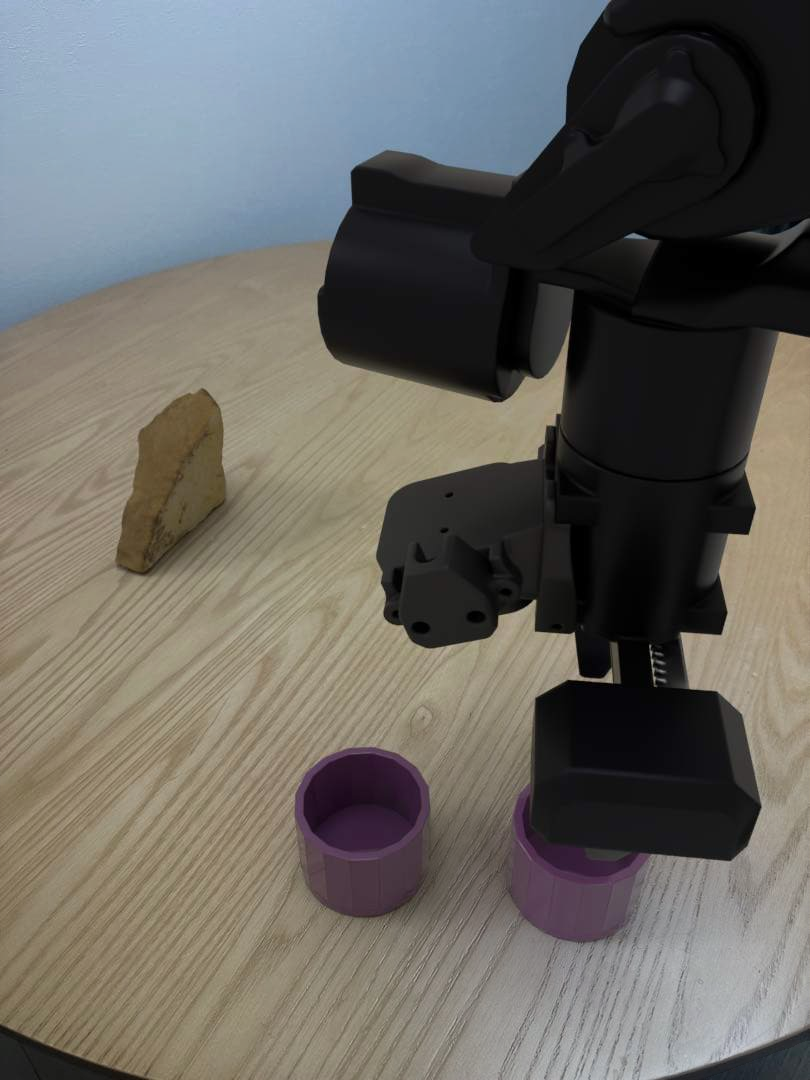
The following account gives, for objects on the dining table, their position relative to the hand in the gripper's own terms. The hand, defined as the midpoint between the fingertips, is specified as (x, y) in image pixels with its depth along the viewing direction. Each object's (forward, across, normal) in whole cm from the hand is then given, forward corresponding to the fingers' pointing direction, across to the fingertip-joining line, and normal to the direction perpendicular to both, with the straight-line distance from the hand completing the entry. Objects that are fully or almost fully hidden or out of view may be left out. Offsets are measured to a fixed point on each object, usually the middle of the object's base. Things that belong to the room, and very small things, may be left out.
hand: (595, 757), depth 38 cm
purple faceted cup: (+9, 0, -10) cm, 13 cm away
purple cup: (+9, 0, 0) cm, 9 cm away
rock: (+9, -24, -27) cm, 37 cm away
